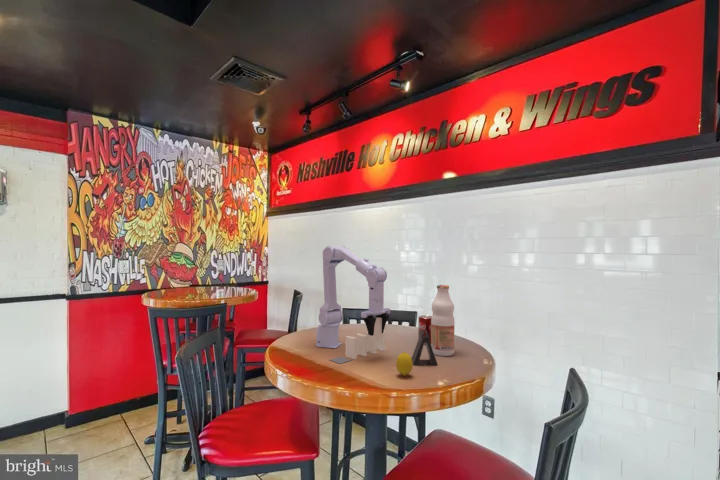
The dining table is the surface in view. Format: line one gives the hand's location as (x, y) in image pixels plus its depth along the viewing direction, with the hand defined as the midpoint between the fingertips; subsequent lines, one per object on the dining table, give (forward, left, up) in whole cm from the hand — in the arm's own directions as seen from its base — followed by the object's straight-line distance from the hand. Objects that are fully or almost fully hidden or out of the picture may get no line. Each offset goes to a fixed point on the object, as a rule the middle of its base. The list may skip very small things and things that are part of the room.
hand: (375, 334), depth 139 cm
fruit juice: (+25, +16, -10) cm, 31 cm away
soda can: (+17, +30, -10) cm, 36 cm away
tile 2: (-4, +9, -10) cm, 14 cm away
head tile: (-1, +13, -10) cm, 17 cm away
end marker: (-12, -6, -10) cm, 17 cm away
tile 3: (-7, +4, -10) cm, 13 cm away
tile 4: (-10, -1, -10) cm, 14 cm away
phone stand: (+19, +1, -10) cm, 21 cm away
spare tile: (0, 0, -2) cm, 2 cm away
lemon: (+14, -15, -10) cm, 22 cm away
